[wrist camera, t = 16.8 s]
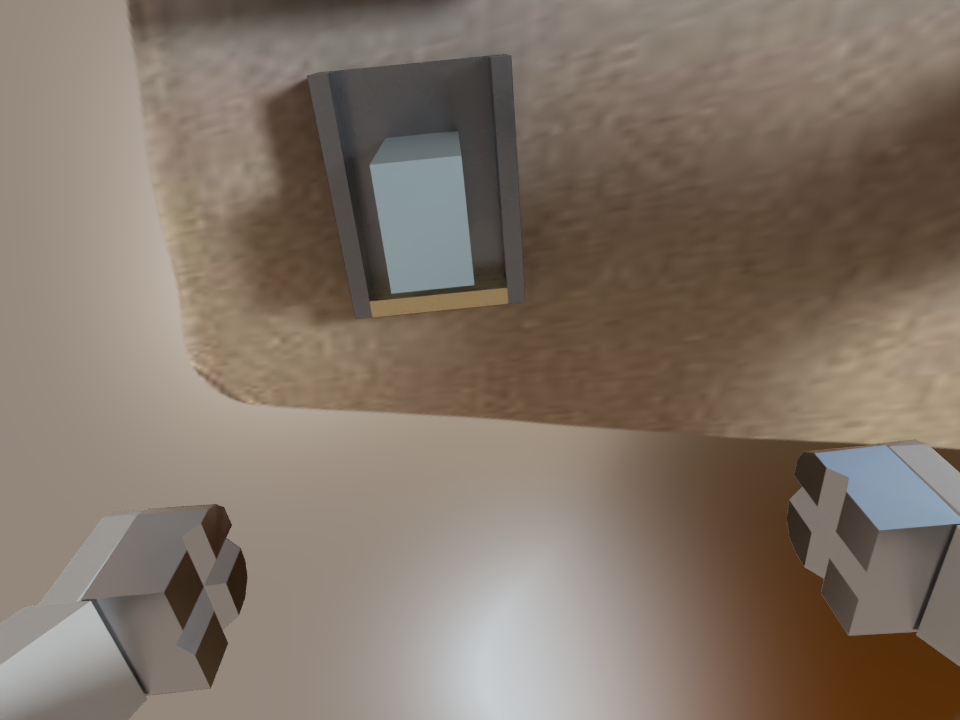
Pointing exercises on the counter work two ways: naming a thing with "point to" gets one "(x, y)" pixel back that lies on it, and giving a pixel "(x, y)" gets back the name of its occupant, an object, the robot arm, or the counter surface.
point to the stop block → (423, 212)
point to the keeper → (414, 111)
